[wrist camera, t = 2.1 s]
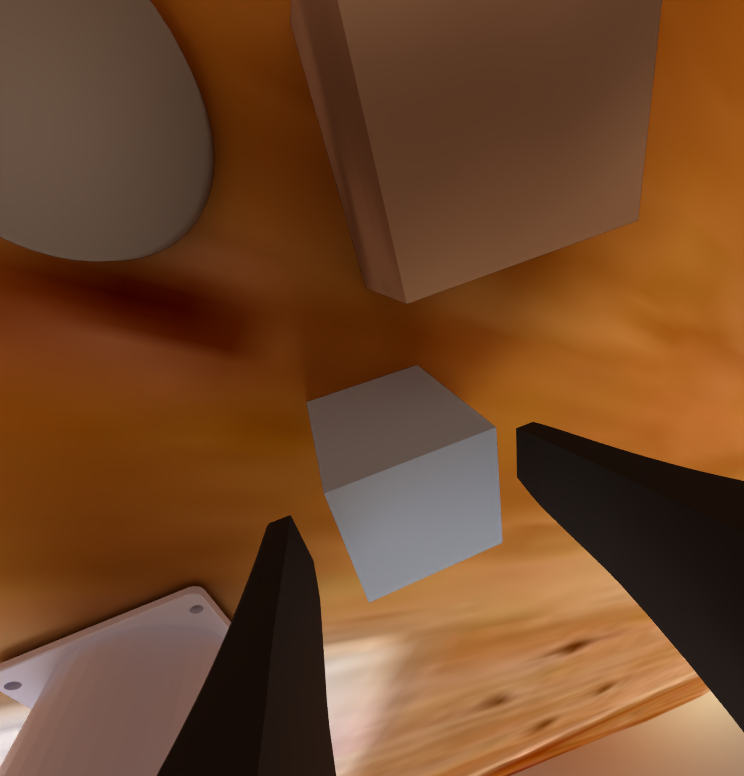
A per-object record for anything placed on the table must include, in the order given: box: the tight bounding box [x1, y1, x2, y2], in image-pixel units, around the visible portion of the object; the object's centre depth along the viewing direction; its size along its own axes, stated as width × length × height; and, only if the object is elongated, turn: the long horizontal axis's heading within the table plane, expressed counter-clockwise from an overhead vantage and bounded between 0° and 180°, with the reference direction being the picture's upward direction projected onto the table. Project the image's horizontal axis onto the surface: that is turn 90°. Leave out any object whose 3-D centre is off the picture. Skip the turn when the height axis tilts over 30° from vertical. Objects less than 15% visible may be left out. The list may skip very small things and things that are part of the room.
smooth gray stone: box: [0, 0, 214, 261], centre depth 7 cm, size 6×6×1 cm
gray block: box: [307, 365, 503, 602], centre depth 11 cm, size 4×4×5 cm
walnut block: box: [290, 0, 662, 304], centre depth 8 cm, size 6×6×4 cm
